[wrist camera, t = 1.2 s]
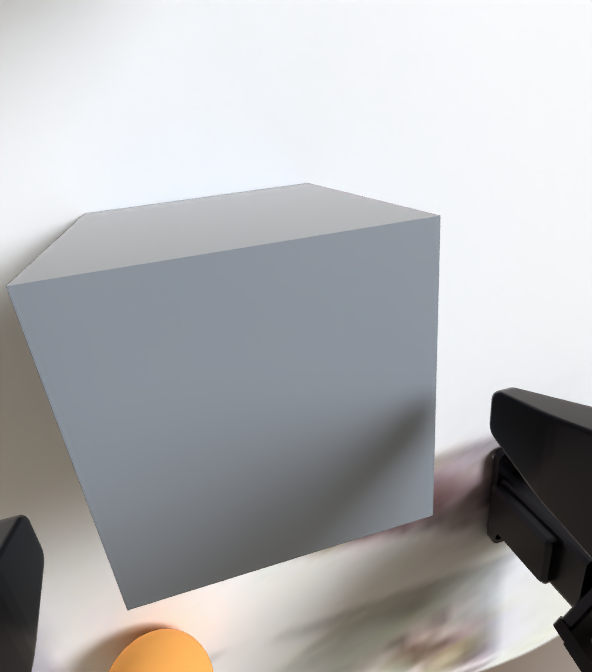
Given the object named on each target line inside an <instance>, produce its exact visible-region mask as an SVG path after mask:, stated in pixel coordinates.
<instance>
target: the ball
mask: <svg viewBox="0 0 592 672" xmlns="http://www.w3.org/2000/svg"><path fill="white" fill-rule="evenodd" d="M109 672H213V667H212V664H211V661H210V659H209V657H208V655H207V653H206V651H205V649H204V648H203V647H202V645H201V644H200V643H199V642H198V641H197V640H196V639H195V638H193V637H192V636H191V635H189V634H187V633H185V632H183V631H180V630H175V629H159V630H155V631H151V632H148V633H146V634H144V635H142V636H140V637H139V638H137V639H136V640H134V641H133V642H132V643H130V644H129V645H128V646H127V647H126V648H125V649H124V650H123V651H122V652H121V653H120V655H119V656H118V657H117V659H116V660H115V661H114V663H113V665H112V666H111V668H110V670H109Z"/></svg>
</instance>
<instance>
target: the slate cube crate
mask: <svg viewBox="0 0 592 672" xmlns="http://www.w3.org/2000/svg"><path fill="white" fill-rule="evenodd" d="M439 251H440V215H436V214H432V213H428V212H424V211H419V210H415V209H411V208H407V207H403V206H399V205H395V204H391V203H387V202H383V201H379V200H375V199H371V198H367V197H363V196H359V195H355V194H350V193H346V192H342V191H338V190H334V189H330V188H326V187H322V186H318V185H314V184H310V183H304V184H297V185H290V186H282V187H275V188H268V189H260V190H253V191H246V192H239V193H231V194H224V195H217V196H209V197H202V198H195V199H187V200H180V201H173V202H166V203H158V204H151V205H144V206H136V207H129V208H122V209H114V210H107V211H100V212H93V213H85V214H84V215H83V216H81V217H80V218H79V219H78V220H77V221H76V222H75V223H74V224H73V225H72V226H71V227H70V228H68V229H67V230H66V231H65V232H64V233H63V234H62V235H61V236H60V237H59V238H58V239H57V240H55V241H54V242H53V243H52V244H51V245H50V246H49V247H48V248H47V249H46V250H45V251H44V252H42V253H41V254H40V255H39V256H38V257H37V258H36V259H35V260H34V261H33V262H32V263H31V264H29V265H28V266H27V267H26V268H25V269H24V270H23V271H22V272H21V273H20V274H19V275H18V276H16V277H15V278H14V279H13V280H12V281H11V282H10V283H9V284H8V285H7V286H6V288H7V290H8V293H9V296H10V298H11V301H12V304H13V306H14V309H15V312H16V314H17V317H18V320H19V322H20V325H21V328H22V330H23V333H24V336H25V338H26V341H27V344H28V346H29V349H30V352H31V354H32V357H33V360H34V362H35V365H36V368H37V370H38V373H39V376H40V378H41V381H42V384H43V386H44V389H45V392H46V394H47V397H48V400H49V402H50V405H51V408H52V410H53V413H54V416H55V418H56V421H57V424H58V426H59V429H60V432H61V434H62V437H63V440H64V442H65V445H66V448H67V450H68V453H69V456H70V458H71V461H72V464H73V466H74V469H75V472H76V474H77V477H78V480H79V482H80V485H81V488H82V490H83V493H84V496H85V498H86V501H87V504H88V506H89V509H90V512H91V514H92V517H93V520H94V522H95V525H96V528H97V530H98V533H99V536H100V538H101V541H102V544H103V546H104V549H105V552H106V554H107V557H108V560H109V562H110V565H111V568H112V570H113V573H114V576H115V578H116V581H117V584H118V586H119V589H120V592H121V594H122V597H123V600H124V602H125V605H126V608H127V610H130V609H133V608H137V607H140V606H143V605H146V604H150V603H153V602H156V601H159V600H162V599H166V598H169V597H172V596H175V595H178V594H182V593H185V592H188V591H191V590H195V589H198V588H201V587H204V586H207V585H211V584H214V583H217V582H220V581H223V580H227V579H230V578H233V577H236V576H240V575H243V574H246V573H249V572H252V571H256V570H259V569H262V568H265V567H268V566H272V565H275V564H278V563H281V562H285V561H288V560H291V559H294V558H297V557H301V556H304V555H307V554H310V553H314V552H317V551H320V550H323V549H326V548H330V547H333V546H336V545H339V544H342V543H346V542H349V541H352V540H355V539H359V538H362V537H365V536H368V535H371V534H375V533H378V532H381V531H384V530H387V529H391V528H394V527H397V526H400V525H404V524H407V523H410V522H413V521H416V520H420V519H423V518H426V517H429V516H432V515H433V488H434V449H435V409H436V370H437V330H438V290H439Z"/></svg>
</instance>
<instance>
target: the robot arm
mask: <svg viewBox="0 0 592 672" xmlns="http://www.w3.org/2000/svg"><path fill="white" fill-rule="evenodd" d="M490 429H491V433H492V435H493V436H494V438H495V439H496V441H497V442H498V444H499V445H500V446H501V449H500V450H498V451H497V453H496V454H495V457H494V466H493V477H492V488H491V499H490V510H489V521H488V532H487V535H488V537H489V538H490V539H491V540H492V541H493V542H494V543H499V542H502V541H504V542H505V543H506V544H507V545H508V546H509V547H510V548H511V550H512V551H513V552H514V553H515V554H516V555H517V556H518V558H519V559H520V560H521V561H522V562H523V563H524V564H525V566H526V567H527V568H528V569H529V570H530V571H531V572H532V574H533V575H534V576H535V577H536V578H537V579H538V580H539V581H540V582H542V583H543V584H547V583H549V582H550V583H551V584H552V585H553V586H554V588H555V589H556V590H557V591H558V592H559V593H560V594H561V595H562V596H563V598H564V599H565V600H566V601H567V602H568V603H569V604H570V605H571V606H572V608H571V609H570V610H569V611H568V612H567V613H566V614H565V616H564V617H562V616H560V617H559V618H558V620H557V621H556V622H555V623H554V624H553V626H554V628H555V629H556V631H557V632H558V634H559V635H560V637H561V638H562V640H563V641H564V643H563V644H564V646H565V647H566V649H567V650H568V652H569V654H570V655H571V657H572V658H573V660H574V661H575V663H576V664H577V666H578V667H579V669H580V670H581V672H592V407H590V406H586V405H582V404H578V403H574V402H570V401H566V400H562V399H558V398H554V397H550V396H546V395H542V394H538V393H534V392H530V391H526V390H522V389H518V388H507V389H503V390H499V391H496V392H495V393H494V394H493V396H492V401H491V414H490ZM43 569H44V554H43V550H42V547H41V545H40V543H39V541H38V538H37V536H36V534H35V532H34V530H33V528H32V525H31V523H30V521H29V519H28V518H27V517H26V516H24V515H18V516H14V517H10V518H7V519H3V520H0V672H32V667H33V661H34V656H35V648H36V640H37V630H38V620H39V609H40V599H41V589H42V579H43Z"/></svg>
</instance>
